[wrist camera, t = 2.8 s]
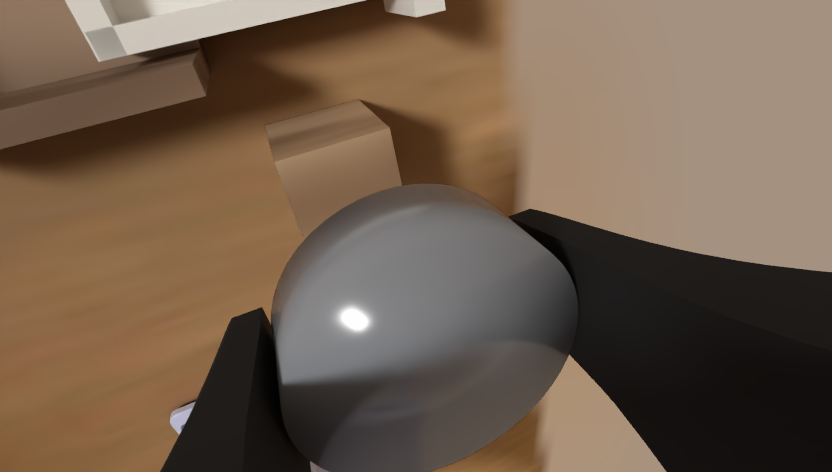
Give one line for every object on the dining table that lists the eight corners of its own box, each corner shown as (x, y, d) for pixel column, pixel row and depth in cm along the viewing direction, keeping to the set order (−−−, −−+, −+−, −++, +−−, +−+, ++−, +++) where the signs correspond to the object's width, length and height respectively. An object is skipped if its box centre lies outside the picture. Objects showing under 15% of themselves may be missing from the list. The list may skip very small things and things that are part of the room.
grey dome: (525, 345, 11) (574, 404, 10) (319, 435, 10) (336, 519, 9) (515, 146, 8) (583, 184, 7) (221, 242, 7) (219, 316, 6)
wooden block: (378, 182, 19) (410, 224, 15) (296, 209, 18) (311, 259, 15) (358, 99, 17) (389, 127, 13) (264, 125, 16) (274, 162, 13)
